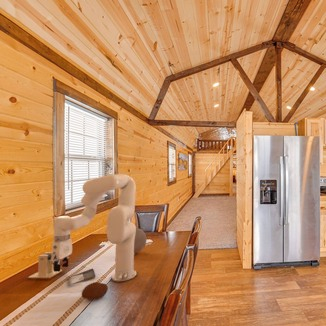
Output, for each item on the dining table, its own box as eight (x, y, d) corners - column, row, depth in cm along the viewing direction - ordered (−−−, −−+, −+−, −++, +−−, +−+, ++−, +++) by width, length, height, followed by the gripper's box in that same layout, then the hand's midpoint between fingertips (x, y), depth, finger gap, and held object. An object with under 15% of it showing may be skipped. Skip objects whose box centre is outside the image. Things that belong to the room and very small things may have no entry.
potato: (106, 300, 110) (106, 284, 110) (79, 306, 105) (79, 289, 105) (108, 291, 118) (108, 276, 118) (83, 296, 113) (83, 281, 113)
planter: (146, 250, 175) (146, 225, 176) (146, 253, 169) (146, 227, 169) (118, 253, 168) (119, 228, 168) (117, 257, 161) (117, 230, 162)
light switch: (93, 271, 138) (69, 280, 130) (93, 268, 138) (68, 277, 130) (95, 278, 130) (69, 288, 122) (95, 274, 129) (69, 284, 122)
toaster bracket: (62, 272, 138) (62, 251, 138) (49, 279, 129) (49, 257, 129) (42, 272, 138) (42, 251, 138) (27, 279, 129) (28, 256, 129)
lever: (65, 264, 136) (67, 260, 136) (58, 267, 131) (60, 263, 131) (46, 256, 136) (48, 252, 136) (39, 259, 131) (40, 255, 131)
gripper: (56, 242, 125) (55, 276, 125) (79, 233, 143) (78, 262, 142) (42, 242, 125) (41, 275, 125) (67, 233, 142) (66, 262, 142)
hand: (61, 268), depth 134 cm, fingers closed on lever, 5 cm apart
